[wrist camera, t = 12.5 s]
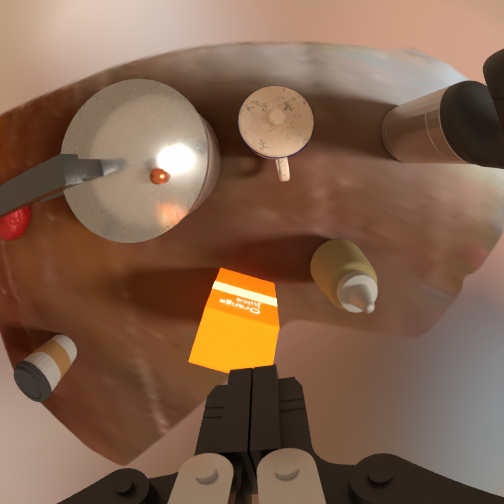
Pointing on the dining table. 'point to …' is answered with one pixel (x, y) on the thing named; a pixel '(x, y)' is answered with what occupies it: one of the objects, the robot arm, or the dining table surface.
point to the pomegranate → (15, 224)
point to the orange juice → (237, 324)
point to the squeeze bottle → (345, 275)
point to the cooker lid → (124, 163)
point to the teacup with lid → (276, 124)
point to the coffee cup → (45, 367)
